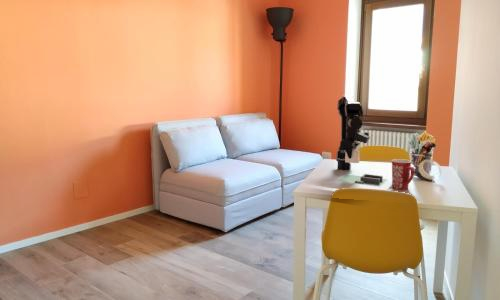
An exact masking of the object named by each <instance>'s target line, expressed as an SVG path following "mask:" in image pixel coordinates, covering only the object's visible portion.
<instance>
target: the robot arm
mask: <svg viewBox="0 0 500 300" xmlns="http://www.w3.org/2000/svg"><path fill="white" fill-rule="evenodd" d="M353 97H354V96H353V95H351V94H346V95H342V97H341V98H340V99H339V100H338V101H337V104H336V105H337V107H336V108H337V113H338V115H339V116H340V141H339V146H338V147H337V151H336V155H335V160H336V162H337V167H336V168H337V170H341V171H350V170H351V169H352V163H348V162H345V153H341V152H340V151H341V150H343V151H346V153H347V155H348V158H350V159H351V157H352V152H353V148H357V147H358V146H359V145H361V143H362V144H368V142H369V140H370V138H371V136H370V133H369V132H368V131H365V132H361V130H360V129H362V127H363V121H362V120H361V117H363V115H364V109H363V106H362V104H361V103H360V102H359V101H355V99H354V98H353Z"/></svg>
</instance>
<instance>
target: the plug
mask: <svg viewBox="0 0 500 300" xmlns="http://www.w3.org/2000/svg"><path fill="white" fill-rule="evenodd" d="M340 152H341V153H345V162H348V163H350V164H359V163H360V156H361V155H360V154H361V153H360V152H361V150H358V148H357V147H356V148H353V152H352V157H351V159H350V158H348V155H347V153H346V151H343V150H341V151H340Z"/></svg>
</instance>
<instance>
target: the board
mask: <svg viewBox="0 0 500 300" xmlns="http://www.w3.org/2000/svg"><path fill="white" fill-rule="evenodd" d="M361 176H362V175H354V174H346V175H344V176H343V177H341V178H340V179H338V180H337V182H341V183H349V184H356V185H363V186H370V187H378V188H380V187H381V186H382V185H384V183H386V182H387V181H388V179H387V178H383V180H382V182H380V184H373V183H365V182H364V181H362V180H360V179H361Z"/></svg>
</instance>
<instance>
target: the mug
mask: <svg viewBox="0 0 500 300" xmlns="http://www.w3.org/2000/svg"><path fill="white" fill-rule="evenodd" d="M411 164H412V160H409V159H404V158H403V159H402V158H400V159H399V158H397V159H396V158H394V159H391V180H392V181H391V186H392V187H391V188H392V189H394V190H399V191H404V190H409V184H410V183H411V182H412V180H413V178H414V176H415V175H414V174H415V170H414V167H413V166H412V165H411Z"/></svg>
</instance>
